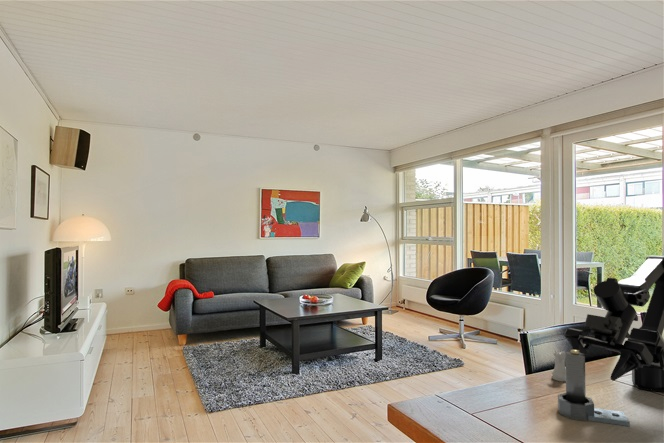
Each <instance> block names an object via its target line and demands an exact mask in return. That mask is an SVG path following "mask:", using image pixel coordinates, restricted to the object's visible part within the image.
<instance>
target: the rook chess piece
mask: <svg viewBox="0 0 664 443" xmlns="http://www.w3.org/2000/svg"><path fill="white" fill-rule="evenodd" d="M565 353H566V352H565V351H564V350H563V351H562V350H555V351H554V352H553V355H554V368H553V370H552V372H551V378H552V380H554V381H556V382H562V383H563V382H565V383H566V357H565Z"/></svg>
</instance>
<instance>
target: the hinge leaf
mask: <svg viewBox="0 0 664 443" xmlns="http://www.w3.org/2000/svg"><path fill="white" fill-rule="evenodd" d="M557 409H558V410H557V411H558V413H559V415H561V416H564V417H566V418H568V419H570V420H575V421H581V420H582V422H588V421H590V422H596V423H597V422H598V423H605V424H609V425H611V424H612V425H618V426H625V427H630V420H629V419H628V417H627V415H625V413H624V411H622V410H621V411H619V410H613V409H604V408H598V407H597V408H596V407H595V403H594V400H593V399H592V398H590V397H588V396H586V403H585V404H579V403H572V402H569V401H567V400H566V392H563V393H558V394H557Z"/></svg>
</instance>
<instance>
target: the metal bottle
mask: <svg viewBox="0 0 664 443" xmlns="http://www.w3.org/2000/svg"><path fill="white" fill-rule="evenodd" d="M565 369H566V382H565V393H566V400H567V401H569V402H572V403H579V404H585V403H586V397H587V396H586V356H585V355H584V354H582V353H579V350H573V349H570V351H566V352H565Z"/></svg>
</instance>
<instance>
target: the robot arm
mask: <svg viewBox="0 0 664 443" xmlns="http://www.w3.org/2000/svg"><path fill="white" fill-rule="evenodd" d="M606 278H607V279H606V280H604V281H601V282H599V283H597V284H596V285H594V287H593V293H594V295H595V297H596V299H597V300H598V302H599V304H600V305H601V307H602V308H603V309H604V310H605V311H607V312H606V314H605V316H601V315H594V314H589V313H587V314H586V318H585V323H584V327H585V328H588V329H590V334H591V335H592V336H594V337H591V336H587V334H586V333H585V331H584V330H583V329H579V328H578V329H577V328H571V327H568V328H567V329H566V330H565V332H564V334H563V337H565V338H566V340H567V341H568V343H569V344H570V346H571V348H572V350H579V353H582V354H584V355H585V357H587V355H588V351H587V350H589V349H590V347H591V346H592V347H596V348H600V349H605V350H608V351H611V352H616V353H619V358H618V359H617V362H616V364H615V366H614V368H613V370H612V371H611V375H610V377H609V378H610V380H611V381H613V382H614V381H616V380H618V379H619V378H621V377H622V376H625V375H626V374H627V373H629V372H631V382H632V383H633V384H634V385H635V386H636V388H637V389H639V390H643V391H652V392H659V393H664V338H663V332H664V255H653V254H652V255H651V254H650V255H647V256H646V258H645V262H643V263H642V264H641V266H640V267H639V268H638V269H637V270H636V271H634V273H633V274H632V275H631V276H630V277H626V278H622V279H620V280H619V281H618V279H617V278H615V277H606ZM653 285H654V288H653V291H652V294H650V289H651V288H652V287H653ZM647 303H648V305H647ZM645 305H647V309H646V312H645V315H644V318H643V320H642V323H641V326H640V327H638V328H637V327H632V328H631V326H632V324H633V322H638V321H639V317H638V314H637V313H638V312H637V310H636V309H635V307H641V308H642V307H644V306H645ZM634 306H635V307H634ZM630 328H631V330H630ZM629 331H630V333H629ZM625 339H627V340H625Z"/></svg>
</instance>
